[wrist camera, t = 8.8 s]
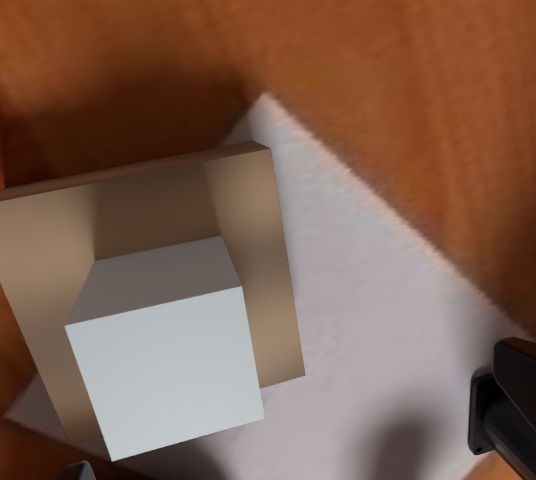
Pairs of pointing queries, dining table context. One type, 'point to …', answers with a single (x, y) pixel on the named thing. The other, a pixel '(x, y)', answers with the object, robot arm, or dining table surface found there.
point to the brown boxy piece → (142, 239)
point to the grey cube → (165, 346)
